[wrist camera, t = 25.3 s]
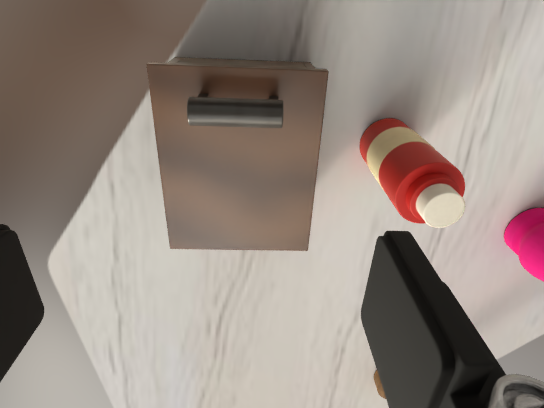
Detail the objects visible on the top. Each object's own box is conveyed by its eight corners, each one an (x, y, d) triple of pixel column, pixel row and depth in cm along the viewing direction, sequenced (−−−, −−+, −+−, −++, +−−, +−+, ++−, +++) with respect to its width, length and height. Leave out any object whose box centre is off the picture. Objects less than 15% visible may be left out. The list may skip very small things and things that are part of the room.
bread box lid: (149, 61, 25) (126, 76, 21) (326, 68, 26) (340, 84, 22) (171, 243, 33) (158, 281, 29) (306, 245, 34) (313, 282, 30)
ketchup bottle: (363, 116, 37) (415, 175, 24) (416, 118, 37) (494, 177, 25) (355, 166, 39) (398, 241, 27) (404, 167, 40) (469, 242, 27)
